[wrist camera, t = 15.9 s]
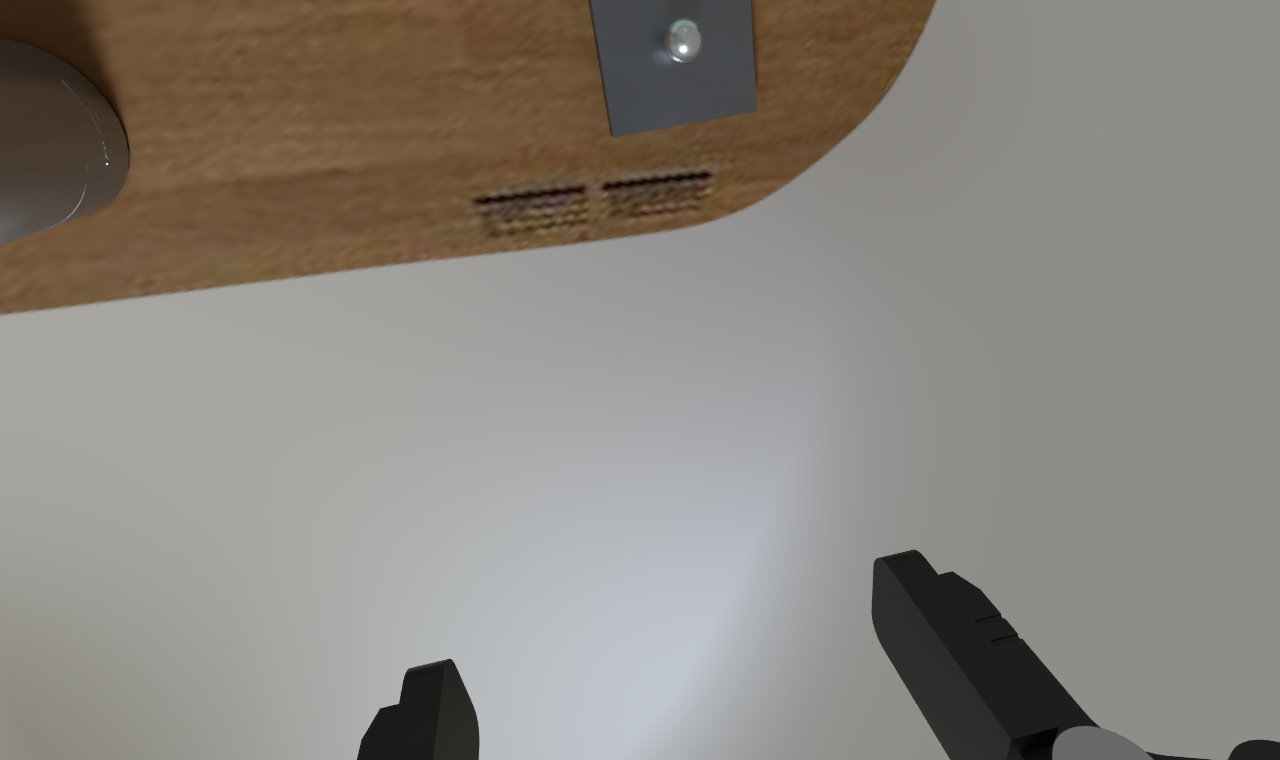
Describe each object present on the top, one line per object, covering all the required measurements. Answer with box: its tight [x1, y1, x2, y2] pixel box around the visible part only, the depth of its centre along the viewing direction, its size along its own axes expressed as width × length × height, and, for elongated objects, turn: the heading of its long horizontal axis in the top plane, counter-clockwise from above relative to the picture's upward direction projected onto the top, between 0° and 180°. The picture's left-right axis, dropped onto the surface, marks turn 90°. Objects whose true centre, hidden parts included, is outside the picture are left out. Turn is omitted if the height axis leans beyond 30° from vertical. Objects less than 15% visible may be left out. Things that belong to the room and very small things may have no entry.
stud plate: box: [588, 0, 757, 137], centre depth 36 cm, size 9×9×4 cm
